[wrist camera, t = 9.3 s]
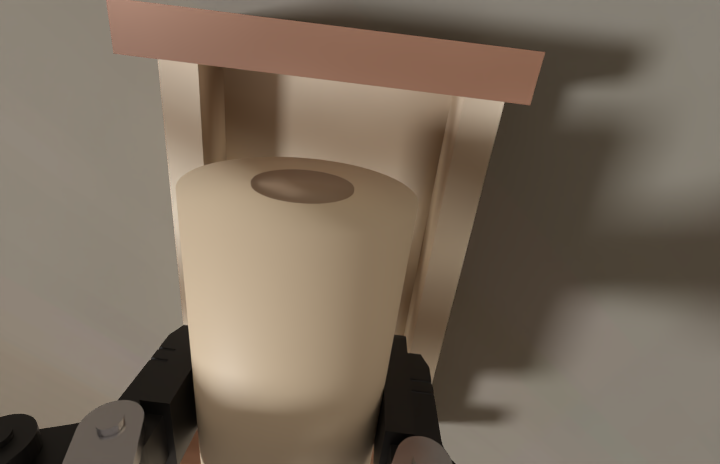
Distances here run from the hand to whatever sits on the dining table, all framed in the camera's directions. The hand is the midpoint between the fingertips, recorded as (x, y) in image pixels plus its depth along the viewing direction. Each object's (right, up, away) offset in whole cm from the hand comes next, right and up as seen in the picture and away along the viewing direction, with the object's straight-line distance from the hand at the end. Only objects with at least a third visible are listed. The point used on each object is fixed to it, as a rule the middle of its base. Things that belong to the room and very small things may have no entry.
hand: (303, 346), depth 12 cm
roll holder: (0, +2, +5) cm, 5 cm away
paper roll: (0, -1, -2) cm, 2 cm away
